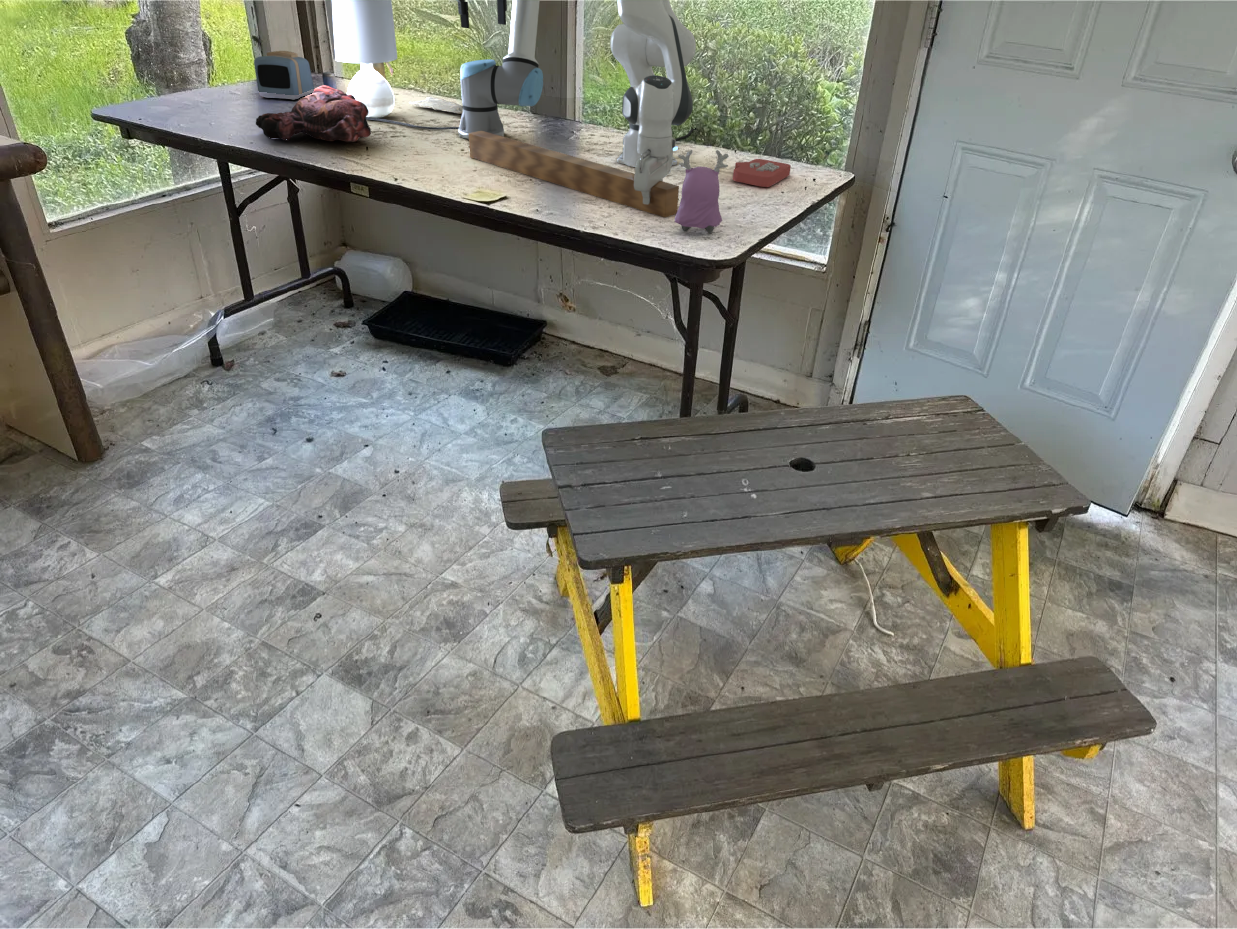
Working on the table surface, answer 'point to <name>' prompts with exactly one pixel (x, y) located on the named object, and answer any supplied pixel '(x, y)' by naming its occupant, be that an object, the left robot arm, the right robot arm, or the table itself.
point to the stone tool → (439, 105)
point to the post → (572, 172)
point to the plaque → (760, 172)
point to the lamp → (364, 48)
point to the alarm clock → (283, 73)
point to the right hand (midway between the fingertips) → (651, 199)
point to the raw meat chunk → (320, 117)
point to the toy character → (700, 195)
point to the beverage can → (329, 79)
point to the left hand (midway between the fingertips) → (484, 26)
